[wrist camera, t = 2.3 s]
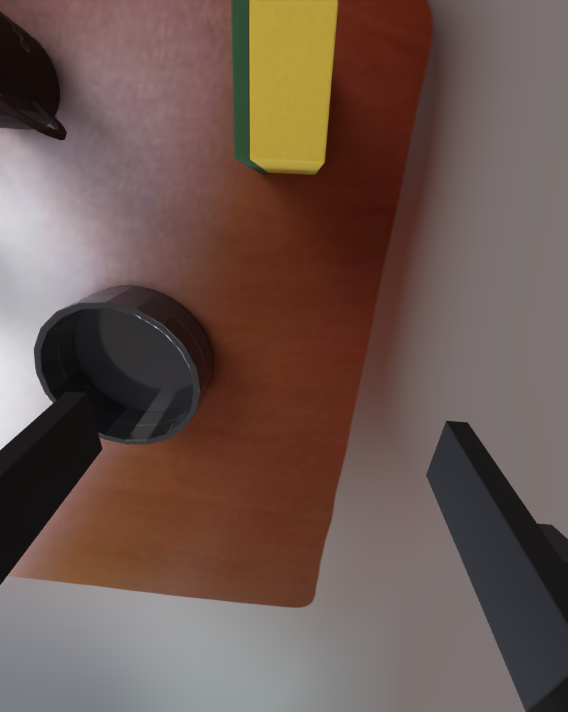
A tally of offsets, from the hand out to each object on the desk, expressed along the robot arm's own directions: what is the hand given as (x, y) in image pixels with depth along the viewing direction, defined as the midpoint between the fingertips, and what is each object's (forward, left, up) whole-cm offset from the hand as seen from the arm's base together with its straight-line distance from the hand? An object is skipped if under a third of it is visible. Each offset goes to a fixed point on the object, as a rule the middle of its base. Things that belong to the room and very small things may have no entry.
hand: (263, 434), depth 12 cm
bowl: (+9, +15, -21) cm, 27 cm away
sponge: (+7, -11, -21) cm, 25 cm away
